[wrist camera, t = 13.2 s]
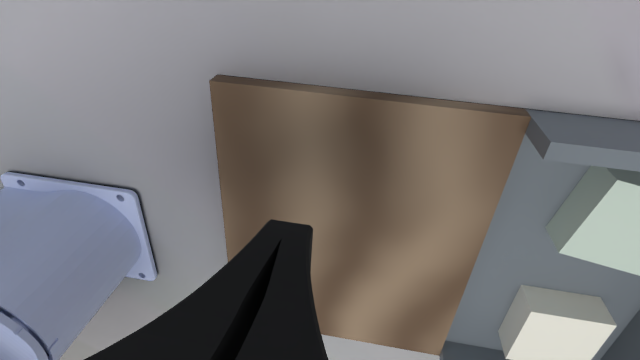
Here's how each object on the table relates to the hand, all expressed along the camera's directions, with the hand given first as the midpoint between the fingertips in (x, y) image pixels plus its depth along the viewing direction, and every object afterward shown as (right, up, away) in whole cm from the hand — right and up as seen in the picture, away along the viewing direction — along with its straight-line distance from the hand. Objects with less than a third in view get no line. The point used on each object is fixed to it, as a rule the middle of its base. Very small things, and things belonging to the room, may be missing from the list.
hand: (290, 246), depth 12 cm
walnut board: (+3, -1, +11) cm, 12 cm away
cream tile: (+15, -6, +12) cm, 20 cm away
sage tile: (+16, +1, +7) cm, 17 cm away
